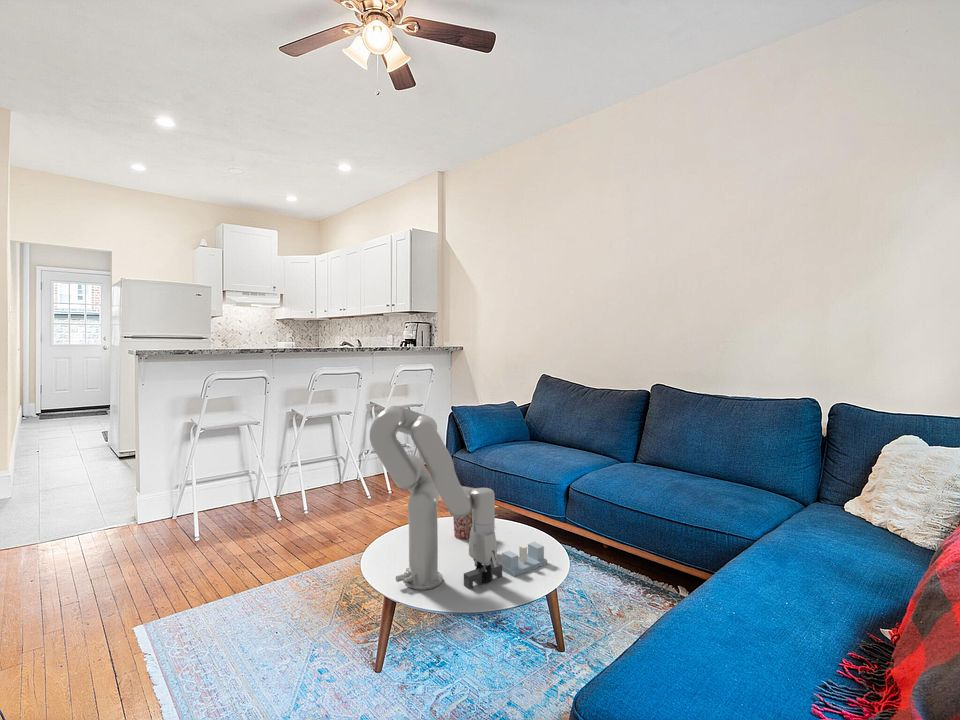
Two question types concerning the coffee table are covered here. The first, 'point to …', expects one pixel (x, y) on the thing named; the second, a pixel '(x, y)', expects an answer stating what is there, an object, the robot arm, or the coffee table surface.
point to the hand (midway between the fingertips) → (483, 579)
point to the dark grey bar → (480, 575)
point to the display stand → (523, 559)
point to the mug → (462, 526)
